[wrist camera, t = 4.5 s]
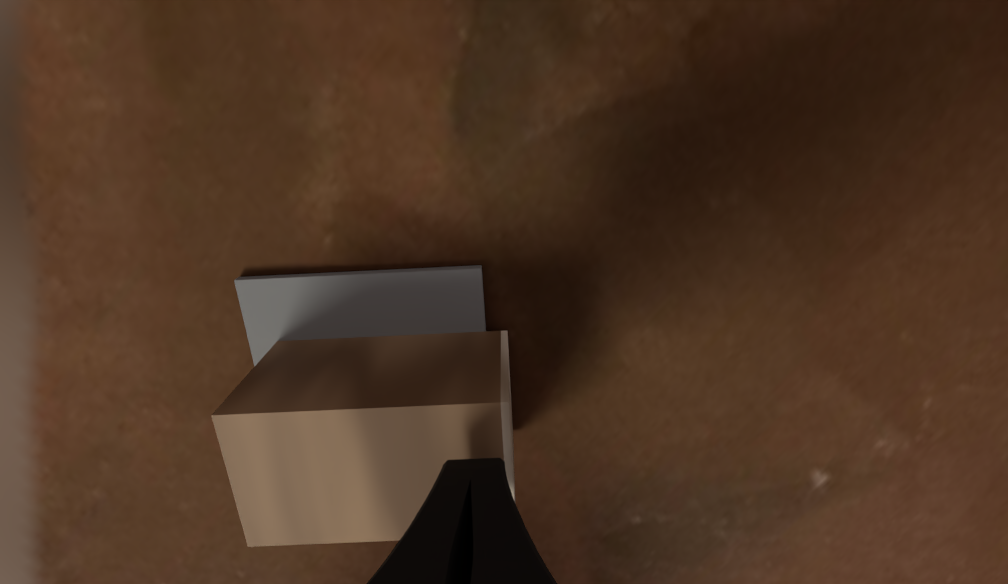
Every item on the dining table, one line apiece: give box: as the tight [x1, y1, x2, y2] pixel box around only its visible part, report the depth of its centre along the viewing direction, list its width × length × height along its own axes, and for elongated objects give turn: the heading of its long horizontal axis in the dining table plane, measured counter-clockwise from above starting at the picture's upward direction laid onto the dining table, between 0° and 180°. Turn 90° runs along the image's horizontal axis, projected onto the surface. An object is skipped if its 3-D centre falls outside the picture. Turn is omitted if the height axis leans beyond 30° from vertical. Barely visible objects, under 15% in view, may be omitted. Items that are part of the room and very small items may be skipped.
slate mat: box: [234, 265, 486, 366], centre depth 17 cm, size 7×8×1 cm
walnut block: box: [211, 330, 515, 547], centre depth 15 cm, size 4×4×7 cm
